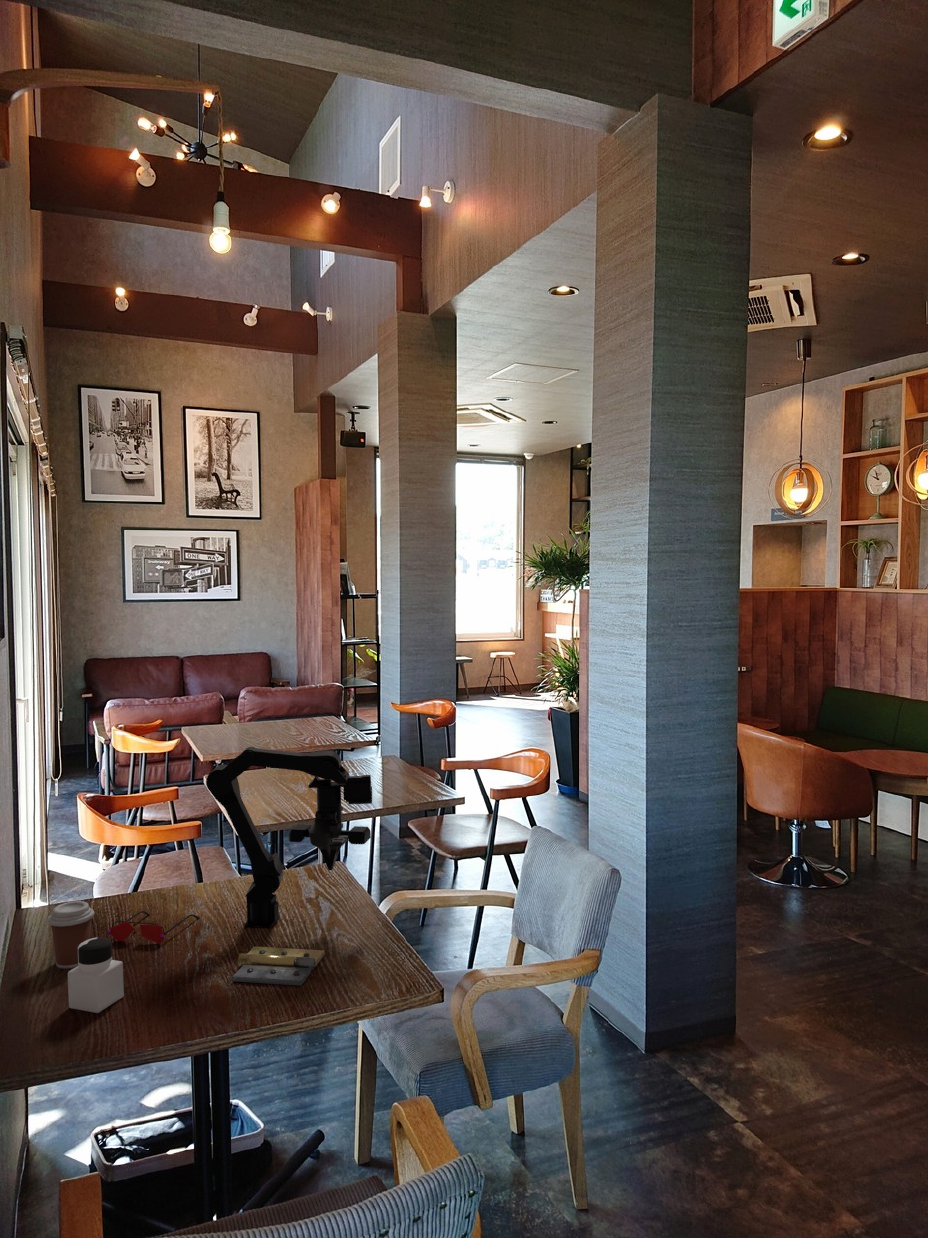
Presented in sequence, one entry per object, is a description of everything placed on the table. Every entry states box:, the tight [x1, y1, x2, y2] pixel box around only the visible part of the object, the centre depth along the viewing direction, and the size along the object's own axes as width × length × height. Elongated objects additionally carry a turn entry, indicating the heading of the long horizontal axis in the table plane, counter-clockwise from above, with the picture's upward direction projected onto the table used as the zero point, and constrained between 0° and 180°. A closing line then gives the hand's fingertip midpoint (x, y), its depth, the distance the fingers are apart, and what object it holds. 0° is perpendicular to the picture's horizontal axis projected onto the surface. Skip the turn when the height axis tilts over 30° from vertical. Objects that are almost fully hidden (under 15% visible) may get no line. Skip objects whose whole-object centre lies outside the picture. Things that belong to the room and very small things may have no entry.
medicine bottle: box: [67, 936, 125, 1014], centre depth 166 cm, size 7×7×12 cm
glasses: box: [107, 910, 201, 945], centre depth 201 cm, size 14×16×5 cm
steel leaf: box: [232, 957, 315, 987], centre depth 177 cm, size 14×8×2 cm, turn 80°
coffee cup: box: [47, 900, 95, 970], centre depth 184 cm, size 9×9×12 cm
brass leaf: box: [237, 946, 325, 968], centre depth 183 cm, size 16×8×2 cm, turn 80°
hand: (330, 869), depth 205 cm, fingers closed
